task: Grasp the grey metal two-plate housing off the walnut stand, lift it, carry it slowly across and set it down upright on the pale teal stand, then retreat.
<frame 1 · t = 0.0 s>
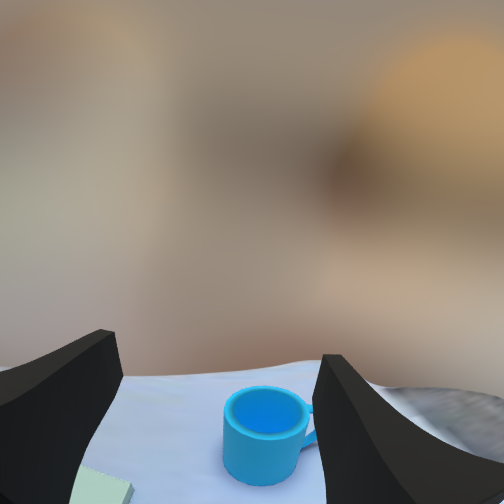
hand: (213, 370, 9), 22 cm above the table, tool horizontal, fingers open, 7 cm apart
mug: (275, 456, 27), on the table
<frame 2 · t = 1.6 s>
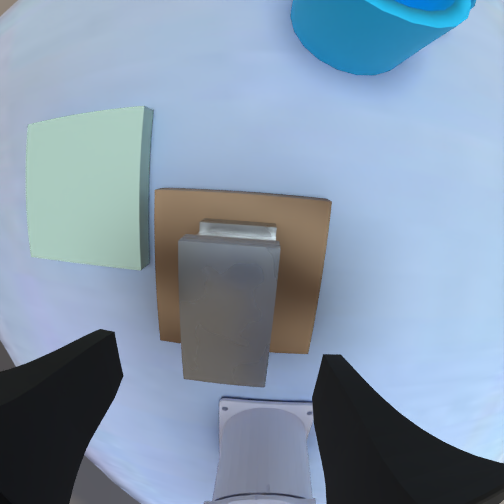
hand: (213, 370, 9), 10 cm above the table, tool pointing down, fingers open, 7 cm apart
stand b: (85, 187, 18), on the table
stand a: (238, 270, 19), on the table
mug: (375, 23, 14), on the table
housing: (236, 279, 17), point 1 cm above the table, touching stand a
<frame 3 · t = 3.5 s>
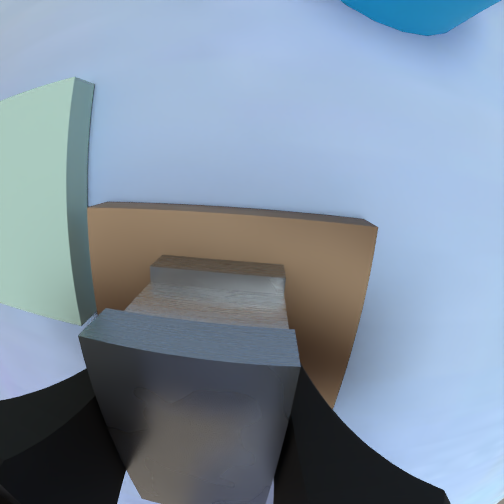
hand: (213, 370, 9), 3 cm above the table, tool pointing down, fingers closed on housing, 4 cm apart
stand b: (14, 202, 11), on the table
stand a: (224, 328, 12), on the table
housing: (218, 349, 10), point 1 cm above the table, touching gripper, stand a
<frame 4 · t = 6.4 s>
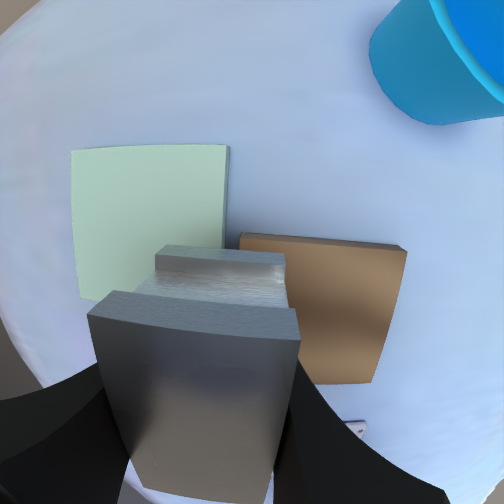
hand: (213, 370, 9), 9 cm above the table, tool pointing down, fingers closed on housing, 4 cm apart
stand b: (147, 226, 18), on the table
stand a: (314, 312, 19), on the table
mug: (442, 68, 14), on the table
housing: (220, 337, 11), point 8 cm above the table, touching gripper
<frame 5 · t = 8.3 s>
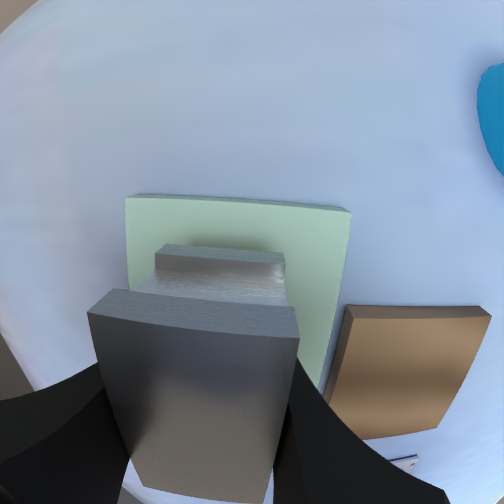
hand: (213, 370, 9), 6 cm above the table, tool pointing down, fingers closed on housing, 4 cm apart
stand b: (232, 297, 15), on the table
stand a: (399, 374, 16), on the table
housing: (220, 336, 11), point 4 cm above the table, touching gripper
when the fingers open (4 cm above the table, at t = 9.6 s): housing stays where it is, resting on stand b.
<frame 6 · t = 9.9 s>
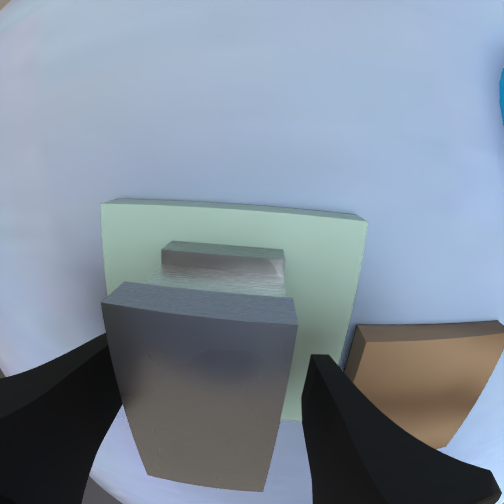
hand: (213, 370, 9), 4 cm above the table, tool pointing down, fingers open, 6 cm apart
stand b: (226, 317, 13), on the table
stand a: (411, 394, 14), on the table
housing: (222, 330, 11), point 1 cm above the table, touching stand b
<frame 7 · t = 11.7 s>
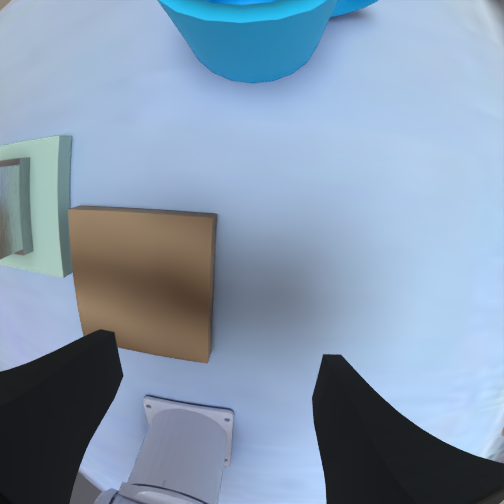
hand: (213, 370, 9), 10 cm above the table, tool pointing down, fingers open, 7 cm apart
stand b: (26, 204, 18), on the table
stand a: (142, 281, 19), on the table
mug: (282, 23, 14), on the table
housing: (14, 204, 17), point 1 cm above the table, touching stand b
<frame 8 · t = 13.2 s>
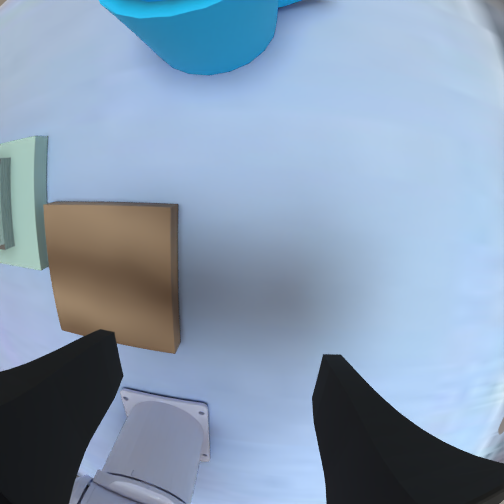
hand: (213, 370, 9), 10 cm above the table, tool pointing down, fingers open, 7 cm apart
stand b: (9, 202, 18), on the table
stand a: (112, 272, 19), on the table
mug: (241, 15, 14), on the table
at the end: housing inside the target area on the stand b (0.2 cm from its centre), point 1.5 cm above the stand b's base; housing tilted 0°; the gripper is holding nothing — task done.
